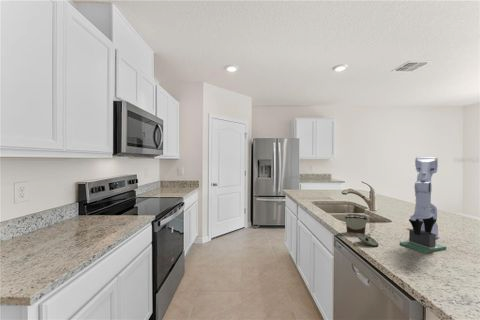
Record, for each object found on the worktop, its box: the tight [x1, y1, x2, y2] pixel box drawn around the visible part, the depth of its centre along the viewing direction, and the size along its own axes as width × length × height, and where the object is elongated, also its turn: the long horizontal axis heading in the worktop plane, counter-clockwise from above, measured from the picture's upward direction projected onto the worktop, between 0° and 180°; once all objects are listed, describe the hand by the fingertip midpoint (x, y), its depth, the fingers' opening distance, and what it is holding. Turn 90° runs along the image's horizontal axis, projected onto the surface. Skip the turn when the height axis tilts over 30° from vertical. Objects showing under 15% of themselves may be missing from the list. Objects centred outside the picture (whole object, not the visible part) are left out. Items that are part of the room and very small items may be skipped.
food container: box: [344, 213, 369, 235], centre depth 144 cm, size 12×6×10 cm, turn 74°
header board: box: [399, 240, 447, 254], centre depth 120 cm, size 15×12×4 cm
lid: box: [355, 233, 379, 247], centre depth 125 cm, size 11×10×5 cm
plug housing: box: [406, 227, 437, 248], centre depth 122 cm, size 4×12×6 cm, turn 20°
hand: (422, 233), depth 120 cm, fingers open, 7 cm apart
